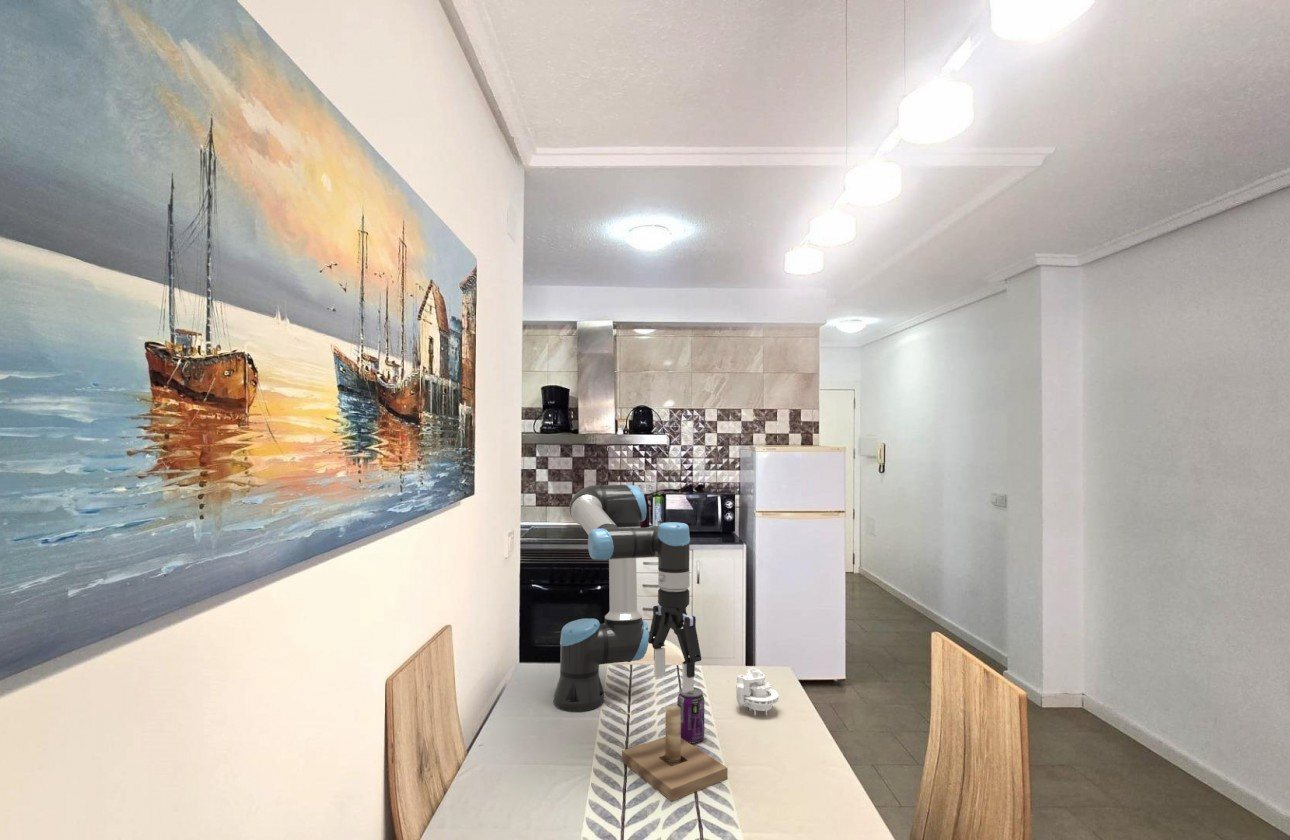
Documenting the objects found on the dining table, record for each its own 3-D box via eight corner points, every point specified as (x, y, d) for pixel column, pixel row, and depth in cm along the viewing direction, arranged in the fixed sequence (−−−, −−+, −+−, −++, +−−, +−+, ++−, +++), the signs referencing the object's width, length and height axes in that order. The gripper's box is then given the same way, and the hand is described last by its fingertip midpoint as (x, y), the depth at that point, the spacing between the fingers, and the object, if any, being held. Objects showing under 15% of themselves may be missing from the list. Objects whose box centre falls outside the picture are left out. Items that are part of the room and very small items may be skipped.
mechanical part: (776, 722, 163) (776, 679, 164) (733, 716, 167) (733, 673, 168) (780, 706, 174) (780, 665, 175) (740, 701, 178) (739, 661, 179)
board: (621, 761, 142) (621, 750, 142) (674, 743, 151) (674, 733, 151) (671, 801, 125) (671, 789, 125) (727, 778, 134) (727, 767, 134)
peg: (661, 768, 139) (662, 707, 139) (674, 764, 141) (674, 704, 142) (671, 775, 135) (671, 713, 136) (684, 771, 138) (684, 709, 138)
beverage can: (702, 746, 150) (702, 697, 150) (675, 743, 151) (675, 695, 152) (705, 733, 157) (705, 687, 157) (679, 731, 158) (679, 685, 159)
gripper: (634, 581, 148) (633, 671, 147) (691, 599, 129) (691, 703, 128) (658, 578, 153) (658, 665, 151) (717, 595, 134) (717, 695, 132)
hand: (673, 683), depth 139 cm, fingers open, 10 cm apart
